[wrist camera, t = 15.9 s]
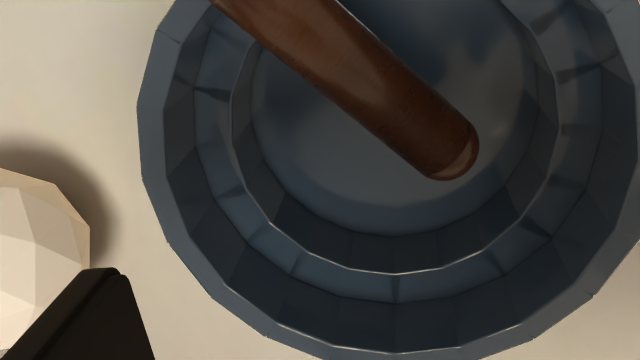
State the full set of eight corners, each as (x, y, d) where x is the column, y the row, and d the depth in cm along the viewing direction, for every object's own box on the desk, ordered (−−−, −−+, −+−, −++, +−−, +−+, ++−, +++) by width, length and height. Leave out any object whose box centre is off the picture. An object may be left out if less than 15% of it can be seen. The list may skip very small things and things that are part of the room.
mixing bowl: (685, -1, 19) (804, 31, 13) (470, 318, 25) (492, 428, 19) (275, -187, 18) (223, -235, 12) (161, 190, 24) (92, 268, 19)
